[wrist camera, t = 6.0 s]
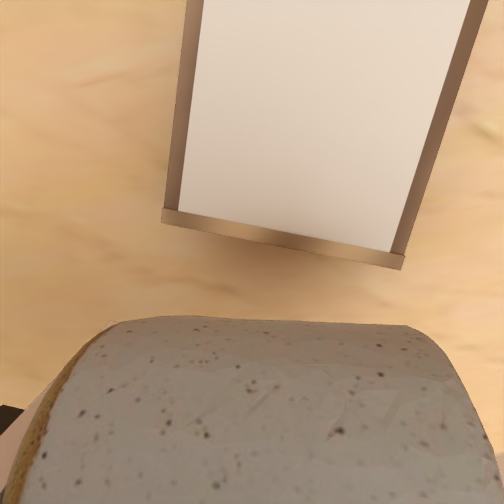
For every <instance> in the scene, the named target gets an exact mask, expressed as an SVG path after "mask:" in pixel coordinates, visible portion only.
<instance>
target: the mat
mask: <svg viewBox="0 0 504 504" xmlns="http://www.w3.org/2000/svg"><path fill="white" fill-rule="evenodd" d="M469 3H470V0H204V6H203V14H202V22H201V30H200V38H199V46H198V54H197V62H196V70H195V78H194V86H193V94H192V102H191V110H190V118H189V126H188V134H187V143H186V151H185V159H184V167H183V175H182V183H181V191H180V199H179V207H178V211H181V212H186V213H191V214H197V215H202V216H207V217H212V218H217V219H222V220H227V221H232V222H237V223H242V224H247V225H252V226H257V227H262V228H267V229H273V230H278V231H283V232H288V233H293V234H298V235H303V236H308V237H313V238H318V239H323V240H328V241H333V242H338V243H343V244H349V245H354V246H359V247H364V248H369V249H374V250H379V251H384V252H389V253H390V250H391V246H392V243H393V240H394V237H395V234H396V231H397V228H398V225H399V221H400V218H401V215H402V212H403V209H404V206H405V203H406V200H407V196H408V193H409V190H410V187H411V184H412V181H413V178H414V175H415V171H416V168H417V165H418V162H419V159H420V156H421V153H422V150H423V146H424V143H425V140H426V137H427V134H428V131H429V128H430V125H431V121H432V118H433V115H434V112H435V109H436V106H437V103H438V100H439V96H440V93H441V90H442V87H443V84H444V81H445V78H446V75H447V72H448V68H449V65H450V62H451V59H452V56H453V53H454V50H455V47H456V43H457V40H458V37H459V34H460V31H461V28H462V25H463V22H464V18H465V15H466V12H467V9H468V6H469Z"/></svg>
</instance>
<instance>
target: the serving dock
mask: <svg viewBox="0 0 504 504" xmlns="http://www.w3.org/2000/svg"><path fill="white" fill-rule="evenodd" d="M487 3H488V0H470V3H469V6H468V9H467V12H466V15H465V18H464V22H463V25H462V28H461V31H460V34H459V37H458V40H457V43H456V47H455V50H454V53H453V56H452V59H451V62H450V65H449V68H448V72H447V75H446V78H445V81H444V84H443V87H442V90H441V93H440V96H439V100H438V103H437V106H436V109H435V112H434V115H433V118H432V121H431V125H430V128H429V131H428V134H427V137H426V140H425V143H424V146H423V150H422V153H421V156H420V159H419V162H418V165H417V168H416V171H415V175H414V178H413V181H412V184H411V187H410V190H409V193H408V196H407V200H406V203H405V206H404V209H403V212H402V215H401V218H400V221H399V225H398V228H397V231H396V234H395V237H394V240H393V243H392V246H391V250H390V253H389V252H384V251H379V250H374V249H369V248H364V247H359V246H354V245H349V244H343V243H338V242H333V241H328V240H323V239H318V238H313V237H308V236H303V235H298V234H293V233H288V232H283V231H278V230H273V229H267V228H262V227H257V226H252V225H247V224H242V223H237V222H232V221H227V220H222V219H217V218H212V217H207V216H202V215H197V214H191V213H186V212H181V211H178V207H179V199H180V191H181V183H182V175H183V167H184V159H185V151H186V143H187V134H188V126H189V118H190V110H191V102H192V94H193V86H194V78H195V70H196V62H197V54H198V46H199V38H200V30H201V22H202V14H203V6H204V0H187V5H186V14H185V23H184V32H183V41H182V50H181V59H180V68H179V77H178V86H177V95H176V104H175V112H174V121H173V130H172V139H171V148H170V157H169V166H168V175H167V184H166V193H165V202H164V208H162V217H161V223H164V224H169V225H174V226H179V227H184V228H189V229H194V230H199V231H204V232H209V233H214V234H219V235H224V236H229V237H234V238H239V239H244V240H250V241H255V242H260V243H265V244H270V245H275V246H280V247H285V248H290V249H295V250H300V251H305V252H310V253H315V254H320V255H325V256H330V257H336V258H341V259H346V260H351V261H356V262H361V263H366V264H371V265H376V266H381V267H386V268H391V269H396V270H401V267H402V264H403V261H404V258H405V255H404V252H405V249H406V246H407V243H408V240H409V237H410V234H411V231H412V228H413V225H414V222H415V219H416V216H417V213H418V210H419V207H420V204H421V201H422V198H423V195H424V192H425V189H426V186H427V183H428V180H429V177H430V174H431V171H432V168H433V165H434V162H435V159H436V156H437V153H438V150H439V147H440V144H441V141H442V138H443V135H444V132H445V129H446V126H447V123H448V120H449V117H450V114H451V111H452V108H453V105H454V102H455V99H456V96H457V93H458V90H459V87H460V84H461V81H462V78H463V75H464V72H465V69H466V66H467V63H468V60H469V57H470V54H471V51H472V48H473V45H474V42H475V39H476V36H477V33H478V30H479V27H480V24H481V21H482V18H483V15H484V12H485V9H486V6H487Z"/></svg>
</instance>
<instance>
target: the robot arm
mask: <svg viewBox="0 0 504 504" xmlns="http://www.w3.org/2000/svg"><path fill="white" fill-rule="evenodd" d="M115 324H118V322H114V321H110V322H109V323H108V324H107V325H106V326H105V327H104V328H103V329H102V330H101V331H100V332H102V331H103V330H105V329H107V328H108V327H110V326H112V325H115ZM100 332H99V333H100ZM99 333H98V334H99ZM57 377H58V376H57ZM57 377H56V378H57ZM56 378H55V379H54V380H53V381H52V382H51V383H50V384H49V386H48V387H47V388H46V389H45V390H44V391H43V392H42V393H41V394H40V395H39V396H38V397H37V398H36V399H35V400H34V401H33V402H32V403H31V404H30V405H29V407H28V408H27V409H26V410H23V409H19V408H15V407H10V406H6V405H2V406H0V504H2V500H3V496H4V492H5V488H6V483H7V480H8V477H9V474H10V471H11V468H12V465H13V462H14V460H15V457H16V455H17V452H18V449H19V447H20V444H21V442H22V439H23V437H24V435H25V433H26V431H27V429H28V427H29V425H30V423H31V421H32V419H33V417H34V415H35V413H36V411H37V409H38V407H39V405H40V403H41V401H42V399H43V397H44V396H45V394H46V392H47V391H48V390H49V388H50V387H51V385H52V384H53V383H54V381H55V380H56Z"/></svg>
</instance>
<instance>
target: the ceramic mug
mask: <svg viewBox="0 0 504 504" xmlns="http://www.w3.org/2000/svg"><path fill="white" fill-rule="evenodd" d="M2 504H504V487H503V483H502V479H501V476H500V472H499V468H498V465H497V461H496V458H495V454H494V451H493V447H492V445H491V443H490V441H489V439H488V437H487V434H486V432H485V430H484V428H483V425H482V423H481V421H480V419H479V416H478V414H477V412H476V409H475V408H474V406H473V404H472V402H471V399H470V397H469V395H468V393H467V391H466V389H465V387H464V385H463V383H462V381H461V380H460V378H459V376H458V374H457V372H456V370H455V369H454V367H453V365H452V364H451V362H450V360H449V359H448V357H447V355H446V354H445V353H444V351H443V350H442V349H441V348H440V347H439V346H438V345H437V344H436V343H435V342H434V341H433V340H432V339H431V338H429V337H428V336H427V335H425V334H423V333H422V332H420V331H418V330H416V329H413V328H411V327H409V326H405V325H377V324H351V323H325V322H308V321H281V320H246V319H227V318H216V317H205V316H160V317H154V318H147V319H139V320H132V321H125V322H121V323H118V324H115V325H112V326H110V327H108V328H107V329H105V330H103V331H102V332H100V333H99V334H97V335H96V336H95V337H94V338H92V339H91V340H90V341H89V342H87V343H86V344H85V345H84V346H83V347H82V348H81V349H80V350H79V351H78V352H77V354H76V355H75V356H74V357H73V358H72V359H71V360H70V361H69V362H68V364H67V365H66V366H65V367H64V368H63V370H62V371H61V373H60V374H59V375H58V377H57V378H56V380H55V381H54V383H53V384H52V385H51V387H50V388H49V390H48V391H47V392H46V394H45V396H44V397H43V399H42V401H41V403H40V405H39V407H38V409H37V411H36V413H35V415H34V417H33V419H32V421H31V423H30V425H29V427H28V429H27V431H26V433H25V435H24V437H23V439H22V442H21V444H20V447H19V449H18V452H17V455H16V457H15V460H14V462H13V465H12V468H11V471H10V474H9V477H8V480H7V483H6V488H5V492H4V496H3V500H2Z"/></svg>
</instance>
